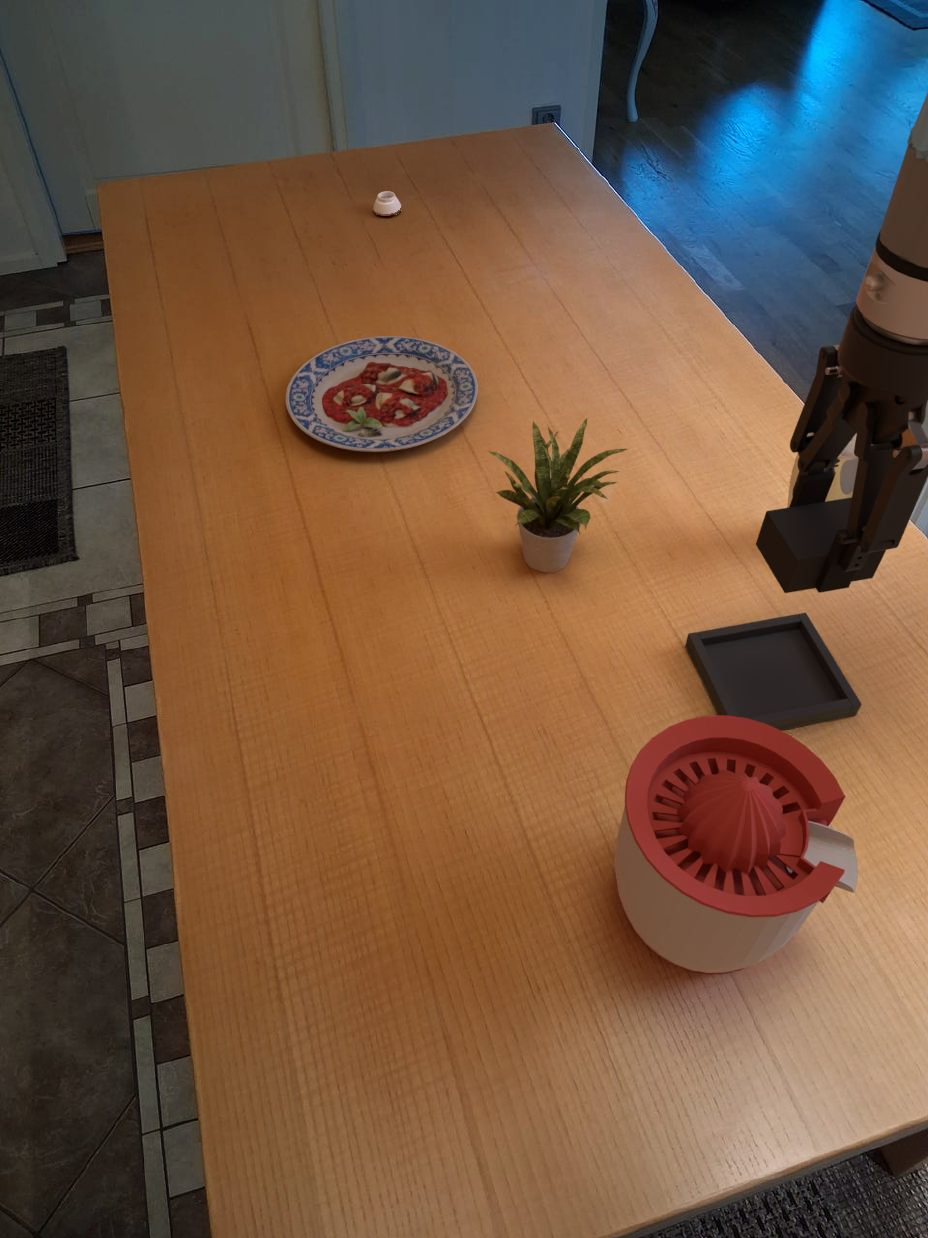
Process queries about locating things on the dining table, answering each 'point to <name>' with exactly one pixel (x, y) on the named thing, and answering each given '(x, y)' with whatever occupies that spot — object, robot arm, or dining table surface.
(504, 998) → the dining table surface
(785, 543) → the black block
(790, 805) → the citrus juicer
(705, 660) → the black square tray
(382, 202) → the lidless jar
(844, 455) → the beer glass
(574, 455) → the house plant
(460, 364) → the ceramic plate
